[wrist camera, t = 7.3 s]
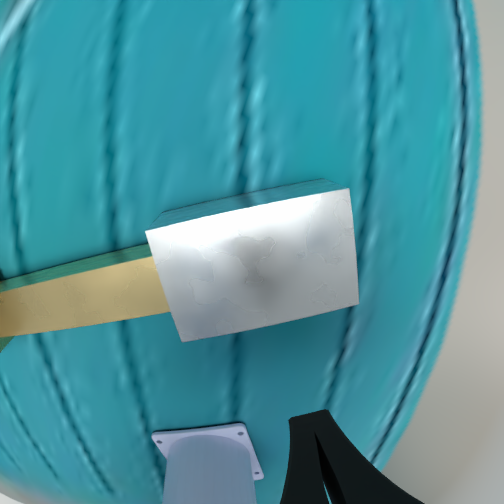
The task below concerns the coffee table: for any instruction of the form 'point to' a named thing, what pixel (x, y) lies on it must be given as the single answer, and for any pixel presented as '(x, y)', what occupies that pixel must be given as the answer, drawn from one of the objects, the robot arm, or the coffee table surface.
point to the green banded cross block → (82, 294)
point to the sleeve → (256, 258)
